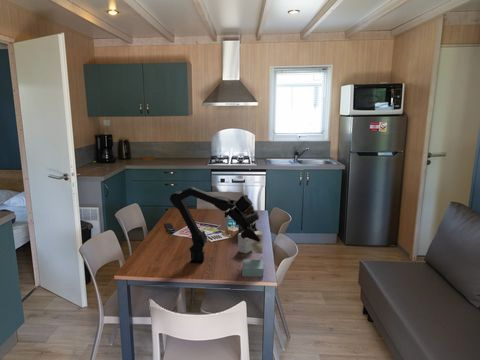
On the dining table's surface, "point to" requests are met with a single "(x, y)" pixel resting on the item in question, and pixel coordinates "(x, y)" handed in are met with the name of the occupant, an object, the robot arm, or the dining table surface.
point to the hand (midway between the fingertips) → (260, 239)
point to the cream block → (258, 243)
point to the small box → (244, 244)
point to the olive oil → (246, 213)
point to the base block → (252, 268)
